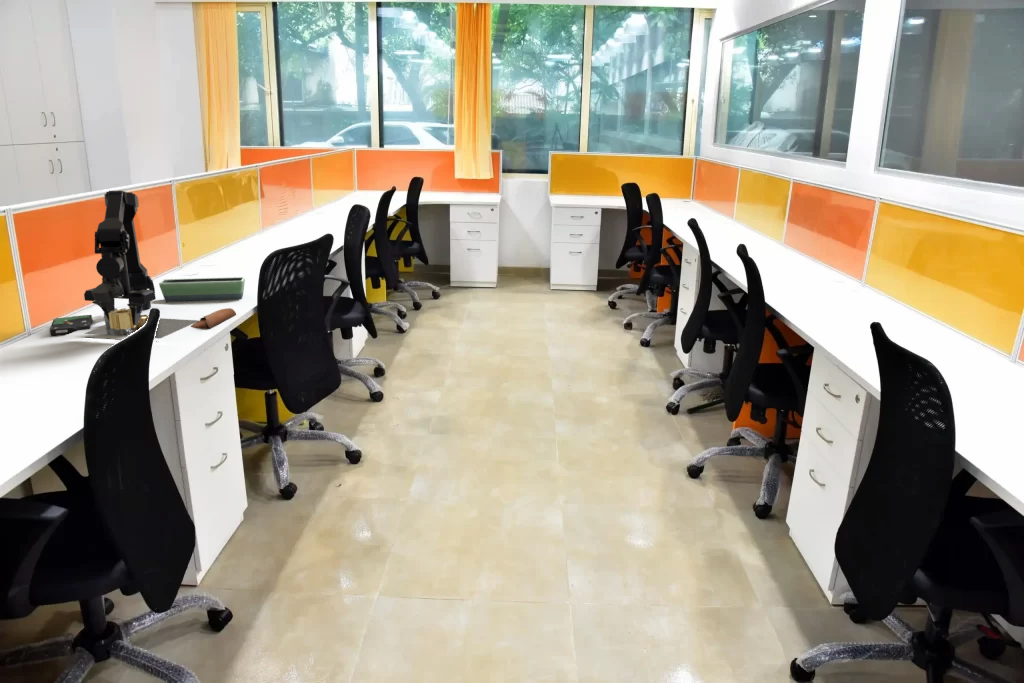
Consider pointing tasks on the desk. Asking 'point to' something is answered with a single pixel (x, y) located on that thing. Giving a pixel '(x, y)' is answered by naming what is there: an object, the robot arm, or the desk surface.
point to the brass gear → (121, 319)
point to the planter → (202, 289)
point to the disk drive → (70, 325)
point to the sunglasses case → (214, 319)
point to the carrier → (163, 327)
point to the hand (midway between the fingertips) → (123, 324)
